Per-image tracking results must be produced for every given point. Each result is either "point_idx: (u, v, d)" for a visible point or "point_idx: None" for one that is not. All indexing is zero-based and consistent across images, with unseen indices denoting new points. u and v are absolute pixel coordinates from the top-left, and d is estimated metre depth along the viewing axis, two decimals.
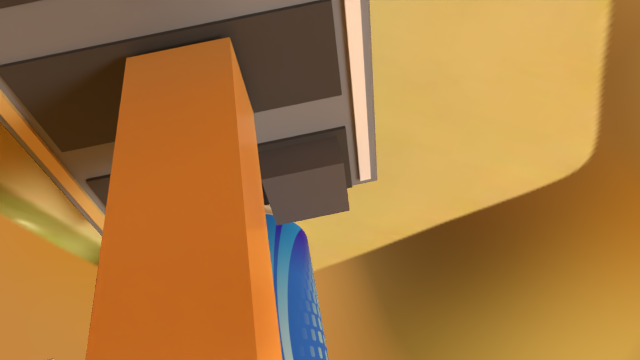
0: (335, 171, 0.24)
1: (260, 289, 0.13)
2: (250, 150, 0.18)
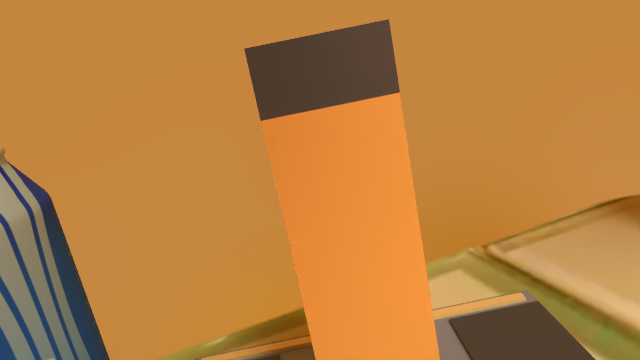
0: None
1: (371, 200, 0.15)
2: None
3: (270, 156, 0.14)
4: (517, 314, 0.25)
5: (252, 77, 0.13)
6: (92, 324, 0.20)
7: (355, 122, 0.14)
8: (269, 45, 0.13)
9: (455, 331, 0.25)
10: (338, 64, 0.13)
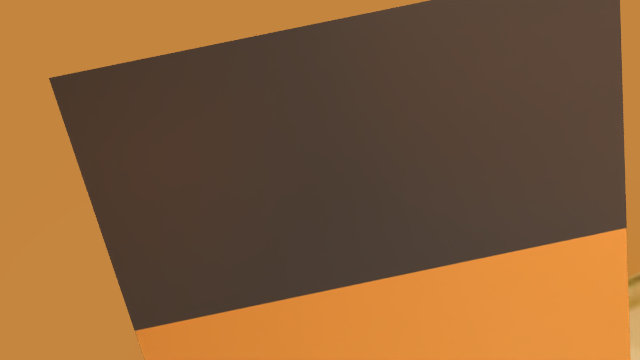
0: None
1: None
2: None
3: None
4: None
5: (92, 184, 0.04)
6: None
7: (464, 326, 0.04)
8: (151, 64, 0.03)
9: None
10: (417, 135, 0.04)
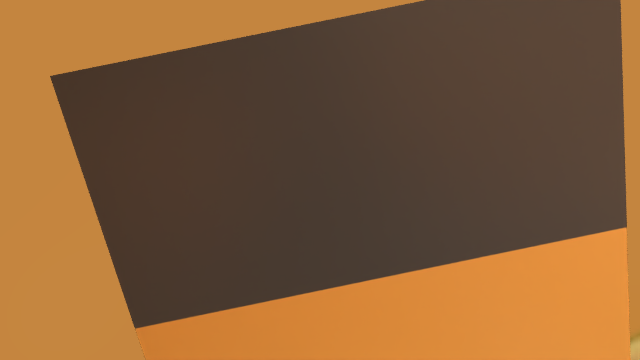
0: None
1: None
2: None
3: None
4: None
5: (92, 182, 0.04)
6: None
7: (464, 326, 0.04)
8: (151, 62, 0.03)
9: None
10: (417, 133, 0.04)
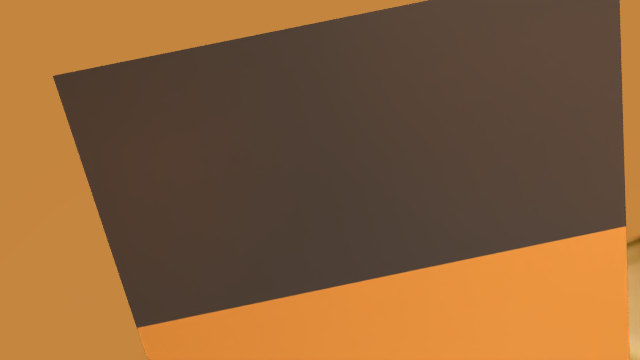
0: None
1: None
2: None
3: None
4: None
5: (95, 182, 0.04)
6: None
7: (465, 324, 0.04)
8: (154, 62, 0.03)
9: None
10: (418, 134, 0.04)
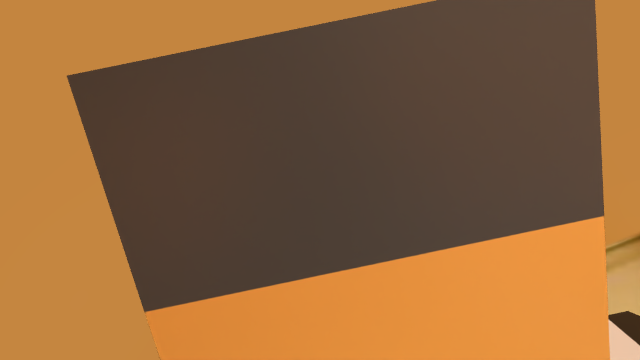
0: None
1: None
2: None
3: None
4: None
5: (105, 175, 0.04)
6: None
7: (453, 307, 0.04)
8: (160, 63, 0.04)
9: None
10: (408, 128, 0.04)
